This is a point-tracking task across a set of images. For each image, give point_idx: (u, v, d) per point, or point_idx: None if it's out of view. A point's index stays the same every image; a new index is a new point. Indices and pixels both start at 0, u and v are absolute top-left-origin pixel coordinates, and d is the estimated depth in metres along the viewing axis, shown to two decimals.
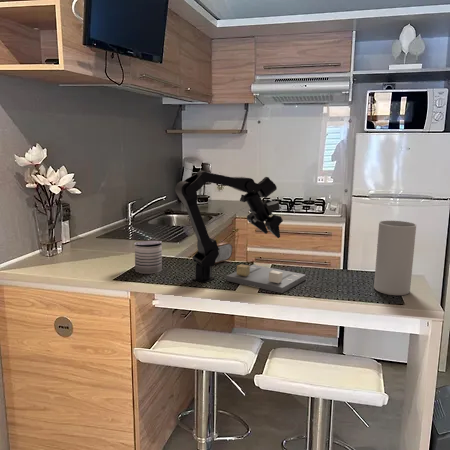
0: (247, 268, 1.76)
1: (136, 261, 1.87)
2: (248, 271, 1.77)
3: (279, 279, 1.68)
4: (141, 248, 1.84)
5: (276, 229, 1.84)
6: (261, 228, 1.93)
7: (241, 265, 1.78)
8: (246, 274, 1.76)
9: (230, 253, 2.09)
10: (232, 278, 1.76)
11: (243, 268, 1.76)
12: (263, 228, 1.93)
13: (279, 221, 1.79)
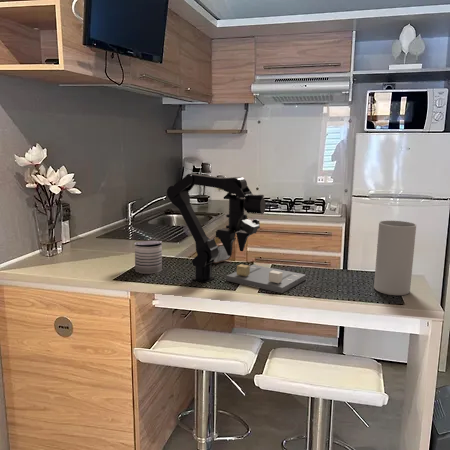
0: (247, 268, 1.76)
1: (136, 261, 1.87)
2: (248, 271, 1.77)
3: (279, 279, 1.68)
4: (141, 248, 1.84)
5: (228, 244, 1.66)
6: (239, 242, 1.75)
7: (241, 265, 1.78)
8: (246, 274, 1.76)
9: None
10: (232, 278, 1.76)
11: (243, 268, 1.76)
12: (241, 243, 1.75)
13: (225, 236, 1.62)
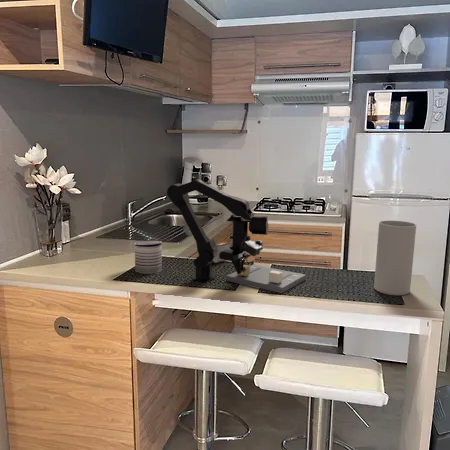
0: (247, 268, 1.76)
1: (136, 261, 1.87)
2: (248, 270, 1.77)
3: (279, 279, 1.68)
4: (141, 248, 1.84)
5: (237, 263, 1.73)
6: None
7: None
8: (246, 274, 1.76)
9: None
10: (232, 278, 1.76)
11: (243, 268, 1.76)
12: None
13: (228, 257, 1.65)
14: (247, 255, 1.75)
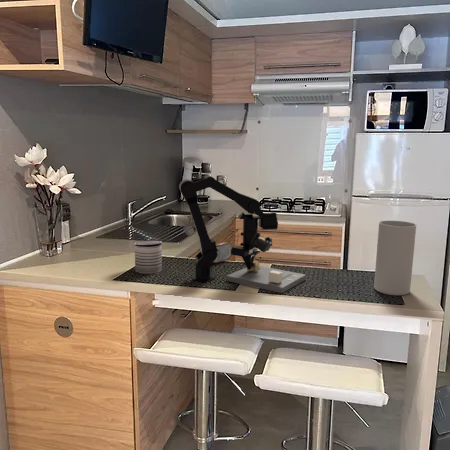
0: (257, 264, 1.82)
1: (136, 261, 1.87)
2: (258, 266, 1.83)
3: (279, 279, 1.68)
4: (141, 248, 1.84)
5: (247, 259, 1.79)
6: None
7: None
8: (256, 270, 1.82)
9: (230, 253, 2.09)
10: (232, 278, 1.76)
11: (253, 264, 1.82)
12: None
13: (239, 253, 1.72)
14: (257, 251, 1.81)
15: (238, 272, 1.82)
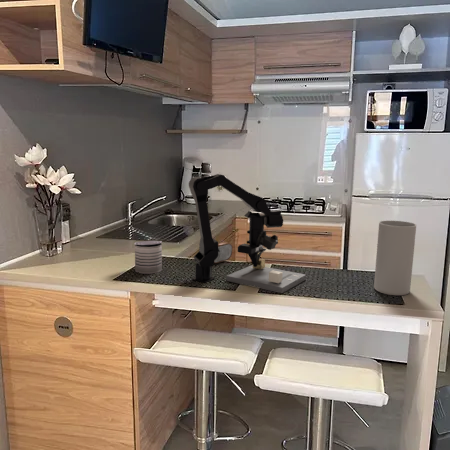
0: (263, 261, 1.86)
1: (136, 261, 1.87)
2: (263, 264, 1.87)
3: (279, 279, 1.68)
4: (141, 248, 1.84)
5: (254, 256, 1.83)
6: None
7: None
8: (262, 267, 1.86)
9: (230, 253, 2.09)
10: (232, 278, 1.76)
11: (259, 261, 1.85)
12: None
13: (246, 251, 1.75)
14: (263, 249, 1.84)
15: (238, 272, 1.82)
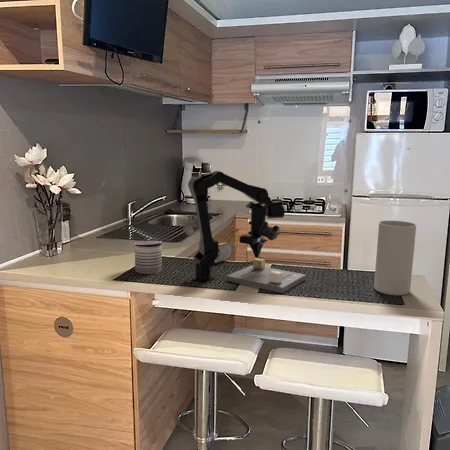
0: (263, 261, 1.86)
1: (136, 261, 1.87)
2: (263, 264, 1.87)
3: (279, 279, 1.68)
4: (141, 248, 1.84)
5: (255, 247, 1.83)
6: None
7: (257, 259, 1.88)
8: (262, 267, 1.86)
9: (230, 253, 2.09)
10: (232, 278, 1.76)
11: (259, 261, 1.85)
12: None
13: (248, 241, 1.75)
14: (264, 240, 1.85)
15: (238, 272, 1.82)
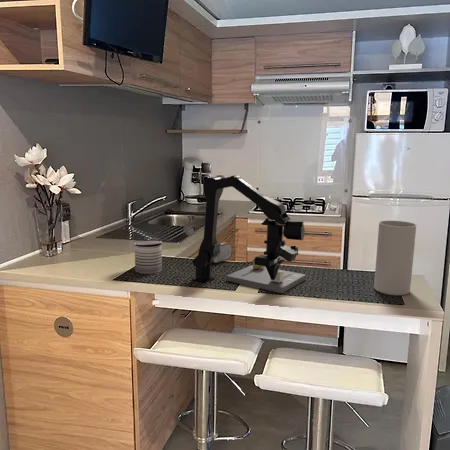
0: None
1: (136, 261, 1.87)
2: None
3: (280, 278, 1.69)
4: (141, 248, 1.84)
5: (271, 269, 1.66)
6: None
7: None
8: (262, 267, 1.86)
9: (230, 253, 2.09)
10: (232, 278, 1.76)
11: None
12: None
13: (264, 263, 1.59)
14: (281, 260, 1.68)
15: (238, 272, 1.82)
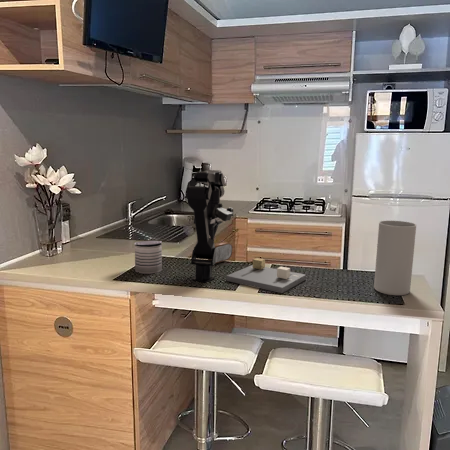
0: (263, 261, 1.86)
1: (136, 261, 1.87)
2: (263, 264, 1.87)
3: (287, 275, 1.74)
4: (141, 248, 1.84)
5: (210, 228, 1.89)
6: None
7: (257, 259, 1.88)
8: (262, 267, 1.86)
9: (230, 253, 2.09)
10: (232, 278, 1.76)
11: (259, 261, 1.85)
12: None
13: None
14: (219, 221, 1.91)
15: (238, 272, 1.82)
